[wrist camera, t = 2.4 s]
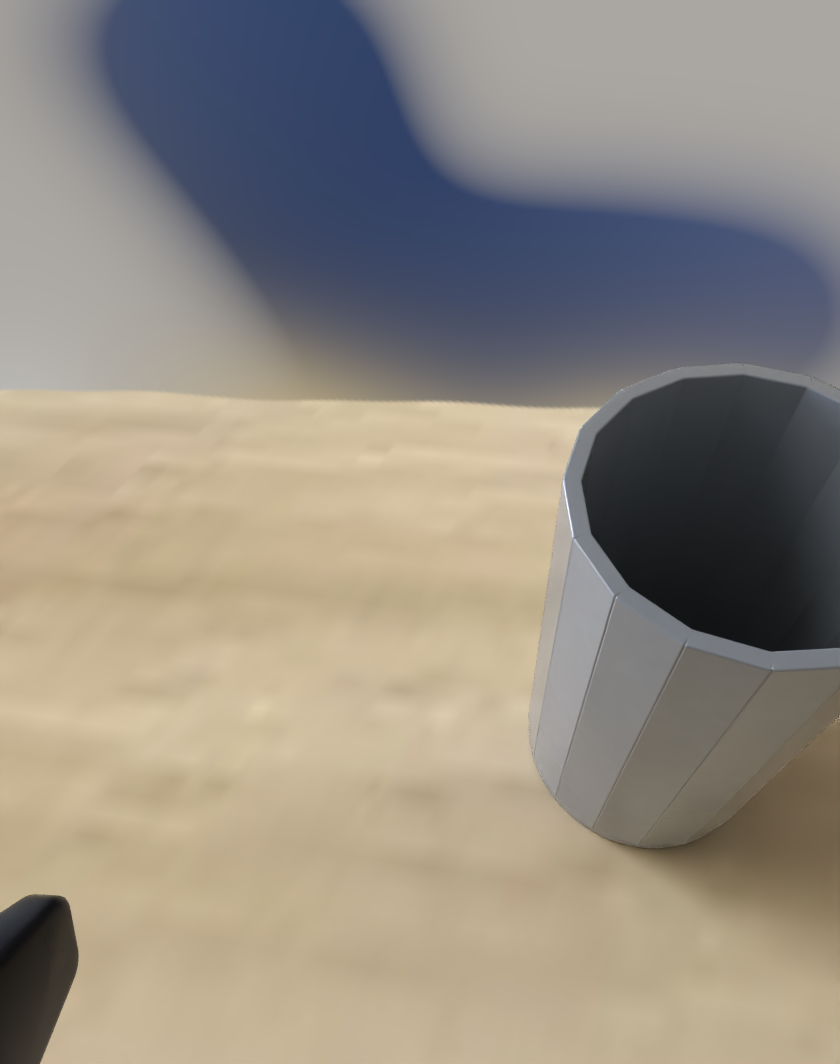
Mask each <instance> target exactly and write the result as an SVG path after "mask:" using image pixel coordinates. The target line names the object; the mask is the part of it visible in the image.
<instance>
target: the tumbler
mask: <svg viewBox="0 0 840 1064" xmlns="http://www.w3.org/2000/svg"><path fill="white" fill-rule="evenodd" d="M839 716H840V390H839V389H838V388H836V387H833V386H831V385H829V384H827V383H825V382H823V381H821V380H819V379H817V378H815V377H811V376H808V375H803V374H798V373H793V372H787V371H782V370H777V369H772V368H767V367H762V366H757V365H752V364H747V363H743V364H742V363H732V364H718V365H703V366H688V367H678V368H674V369H671V370H669V371H666V372H664V373H661V374H659V375H656V376H654V377H651V378H648V379H646V380H643V381H641V382H638V383H636V384H633V385H631V386H628V387H625V388H623V389H622V390H620V391H618V392H617V393H616V394H615V395H614V396H613V397H612V398H611V399H610V400H609V401H608V402H607V403H606V404H605V405H604V406H603V407H602V408H601V409H600V410H598V411H597V412H596V413H595V414H594V415H593V416H592V417H591V418H590V419H589V420H588V421H587V422H586V423H585V424H584V425H583V426H582V427H581V429H580V430H579V432H578V435H577V438H576V441H575V444H574V447H573V450H572V453H571V456H570V458H569V461H568V464H567V467H566V470H565V473H564V476H563V480H562V487H561V494H560V501H559V508H558V514H557V521H556V528H555V535H554V542H553V549H552V556H551V563H550V570H549V577H548V584H547V591H546V597H545V604H544V611H543V618H542V625H541V632H540V639H539V646H538V653H537V660H536V667H535V674H534V680H533V687H532V694H531V701H530V708H529V732H530V744H531V749H532V754H533V758H534V761H535V764H536V767H537V769H538V772H539V774H540V776H541V778H542V780H543V782H544V784H545V785H546V787H547V788H548V790H549V792H550V793H551V795H552V796H553V797H554V798H555V800H556V801H557V802H558V803H559V804H560V806H561V807H562V808H563V809H564V810H565V811H566V812H567V813H568V814H570V815H571V816H572V817H573V818H574V819H575V820H577V821H578V822H579V823H581V824H582V825H583V826H585V827H586V828H588V829H590V830H591V831H593V832H595V833H597V834H598V835H600V836H603V837H605V838H607V839H610V840H612V841H615V842H618V843H622V844H625V845H629V846H635V847H641V848H666V847H675V846H678V845H682V844H686V843H689V842H692V841H694V840H696V839H699V838H701V837H703V836H705V835H706V834H708V833H709V832H711V831H712V830H714V829H715V828H717V827H719V826H720V825H722V824H724V823H726V822H727V821H728V820H729V819H730V818H731V817H732V816H733V815H734V814H735V813H736V812H737V811H739V810H740V809H741V808H742V807H743V806H744V805H745V804H746V803H747V802H748V801H749V800H750V799H751V798H752V797H753V796H754V795H756V794H757V793H758V792H759V791H760V790H761V789H762V788H763V787H764V786H765V785H766V784H767V783H768V782H769V781H770V780H772V779H773V778H774V777H775V776H776V775H777V774H778V773H779V772H780V771H781V770H782V769H783V768H784V767H785V766H786V765H788V764H789V763H790V762H791V761H792V760H793V759H794V758H795V757H796V756H797V755H798V754H799V753H800V752H801V751H802V750H804V749H805V748H806V747H807V746H808V745H809V744H810V743H811V742H812V741H813V740H814V739H815V738H816V737H817V736H818V735H820V734H821V733H822V732H823V731H824V730H825V729H826V728H827V727H828V726H829V725H830V724H831V723H832V722H833V721H834V720H835V719H837V718H838V717H839Z"/></svg>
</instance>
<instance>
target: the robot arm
mask: <svg viewBox="0 0 840 1064" xmlns="http://www.w3.org/2000/svg"><path fill="white" fill-rule="evenodd" d="M77 966H78V947H77V942H76V936H75V931H74V926H73V920H72V915H71V910H70V906H69V903H68V901H67V900H66V899H65V898H64V897H62V896H57V895H36V894H34V895H29V896H26V897H24V898H23V899H21V900H19V901H18V902H16V903H15V904H13V905H12V906H10V907H9V908H7V909H6V910H4V911H3V912H1V913H0V1064H40V1062H41V1060H42V1057H43V1055H44V1052H45V1050H46V1047H47V1045H48V1042H49V1040H50V1037H51V1035H52V1032H53V1030H54V1027H55V1025H56V1023H57V1020H58V1018H59V1015H60V1013H61V1010H62V1008H63V1005H64V1003H65V1000H66V998H67V995H68V993H69V990H70V988H71V985H72V983H73V980H74V977H75V975H76V971H77Z"/></svg>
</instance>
